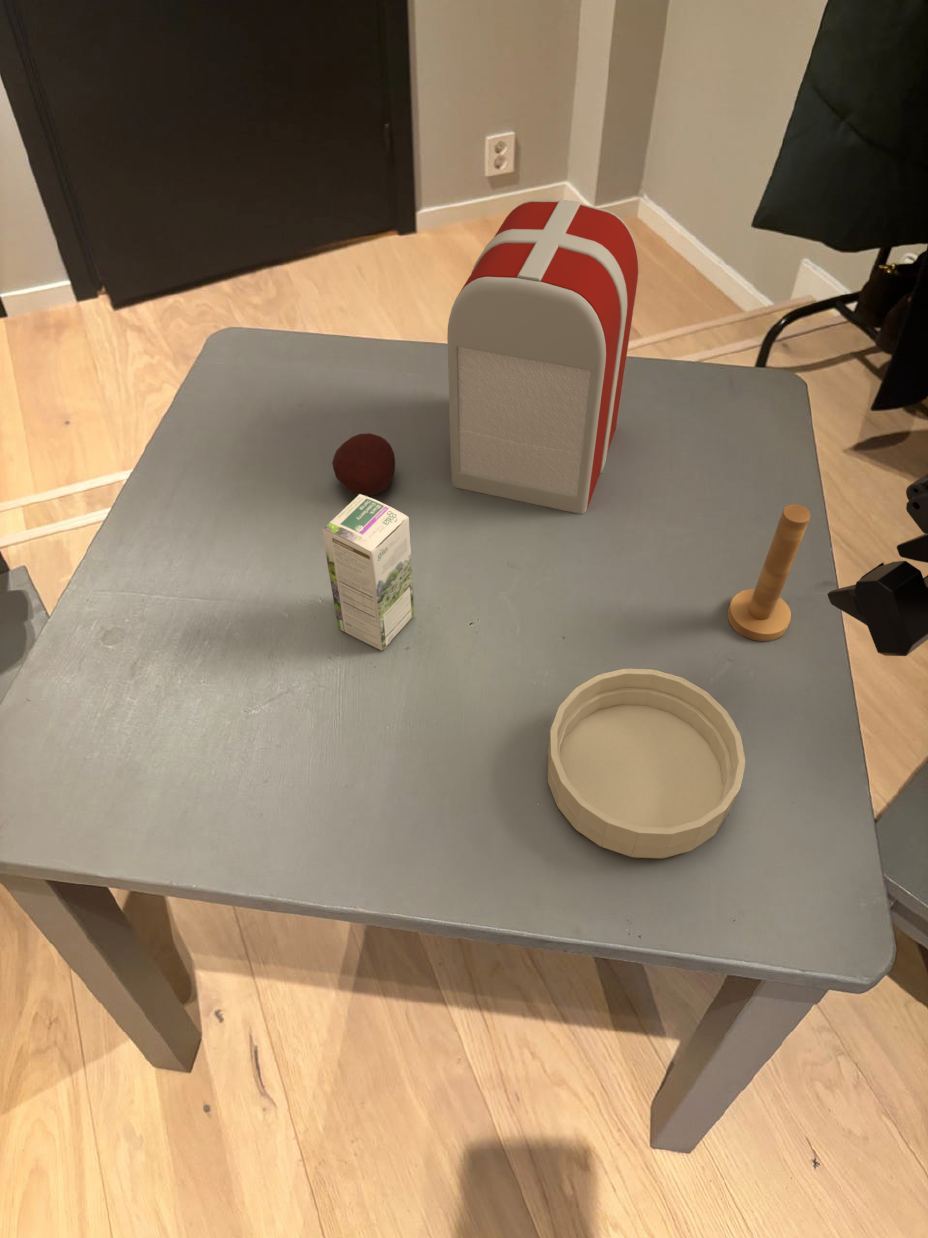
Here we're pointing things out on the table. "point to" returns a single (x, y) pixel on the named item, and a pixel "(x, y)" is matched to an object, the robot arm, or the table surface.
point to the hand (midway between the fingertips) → (865, 573)
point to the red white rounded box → (541, 354)
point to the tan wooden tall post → (771, 582)
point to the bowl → (644, 762)
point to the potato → (364, 464)
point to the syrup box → (370, 570)
